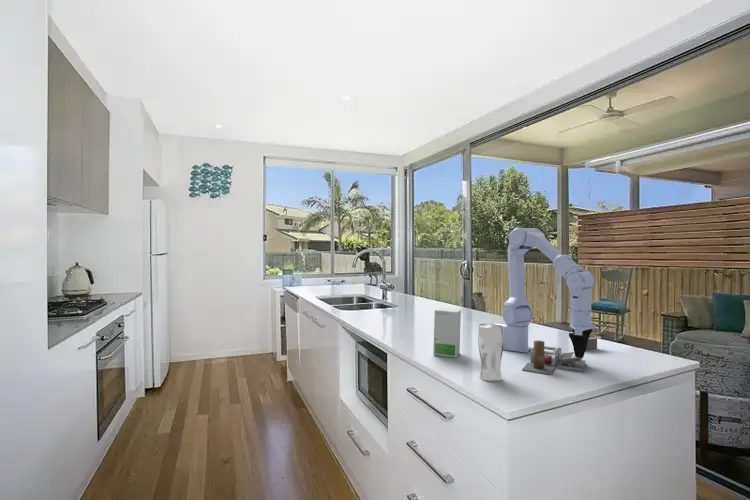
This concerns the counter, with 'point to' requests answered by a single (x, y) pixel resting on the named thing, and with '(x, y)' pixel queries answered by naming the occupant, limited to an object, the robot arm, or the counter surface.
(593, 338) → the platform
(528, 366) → the mat
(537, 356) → the brown cylinder
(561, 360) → the rocker
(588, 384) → the counter surface
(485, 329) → the beer glass
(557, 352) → the silver metal box
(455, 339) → the skincare box
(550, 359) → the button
